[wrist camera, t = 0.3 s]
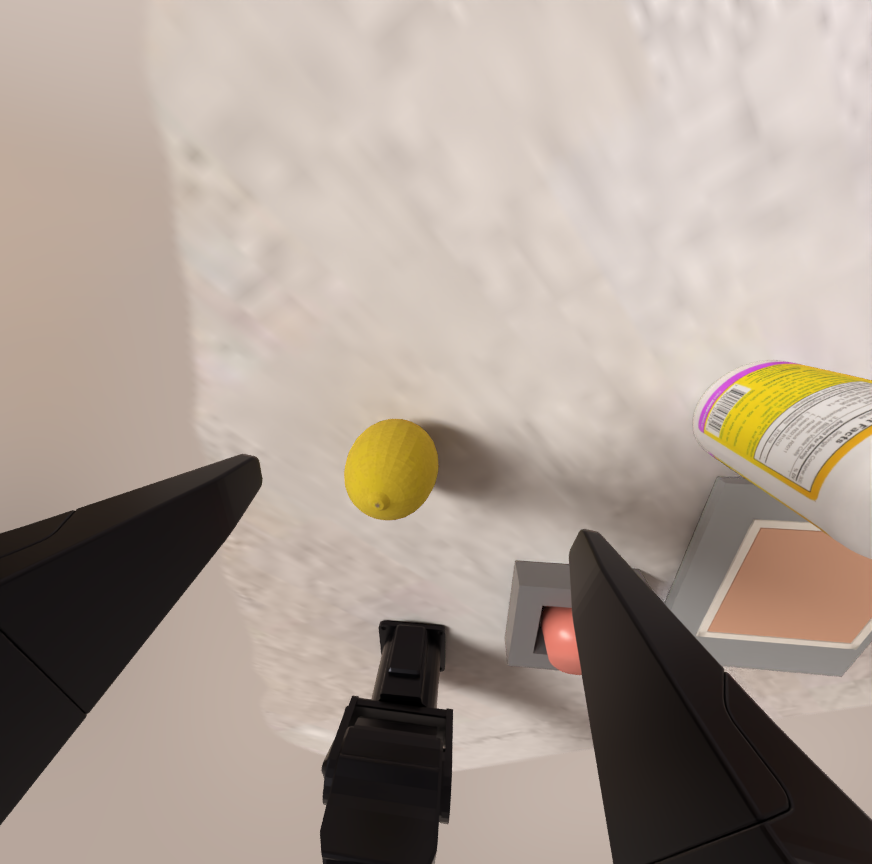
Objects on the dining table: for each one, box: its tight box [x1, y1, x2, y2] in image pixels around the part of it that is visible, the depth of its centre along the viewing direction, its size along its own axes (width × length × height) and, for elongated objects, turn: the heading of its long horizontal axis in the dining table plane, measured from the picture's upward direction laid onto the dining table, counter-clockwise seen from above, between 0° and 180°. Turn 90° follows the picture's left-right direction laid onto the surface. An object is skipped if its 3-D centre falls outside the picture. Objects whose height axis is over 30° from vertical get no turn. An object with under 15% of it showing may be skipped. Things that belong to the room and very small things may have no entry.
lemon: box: [344, 419, 438, 520], centre depth 20 cm, size 6×6×8 cm
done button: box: [540, 606, 582, 675], centre depth 27 cm, size 5×5×3 cm
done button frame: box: [505, 561, 650, 670], centre depth 28 cm, size 10×10×2 cm
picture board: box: [665, 477, 872, 677], centre depth 25 cm, size 19×16×1 cm
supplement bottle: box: [693, 360, 872, 559], centre depth 15 cm, size 7×7×13 cm
